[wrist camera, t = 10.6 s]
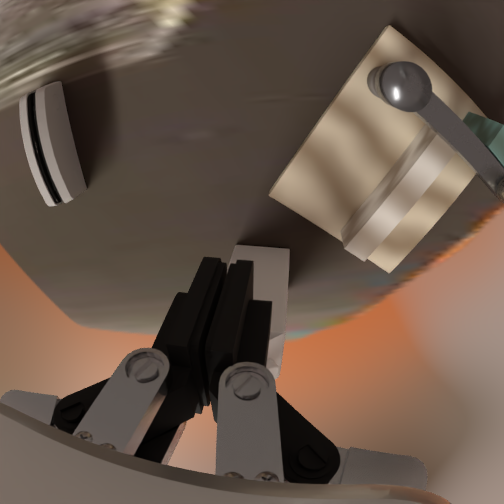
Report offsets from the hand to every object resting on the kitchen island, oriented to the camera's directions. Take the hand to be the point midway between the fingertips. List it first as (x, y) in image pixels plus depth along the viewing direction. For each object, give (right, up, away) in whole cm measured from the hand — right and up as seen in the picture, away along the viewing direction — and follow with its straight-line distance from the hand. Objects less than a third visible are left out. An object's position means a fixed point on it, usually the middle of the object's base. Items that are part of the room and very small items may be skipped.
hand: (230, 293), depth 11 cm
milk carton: (+2, -1, +33) cm, 33 cm away
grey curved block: (-25, +17, +25) cm, 39 cm away
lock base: (+17, +12, +22) cm, 31 cm away
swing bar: (+20, +13, +14) cm, 27 cm away
